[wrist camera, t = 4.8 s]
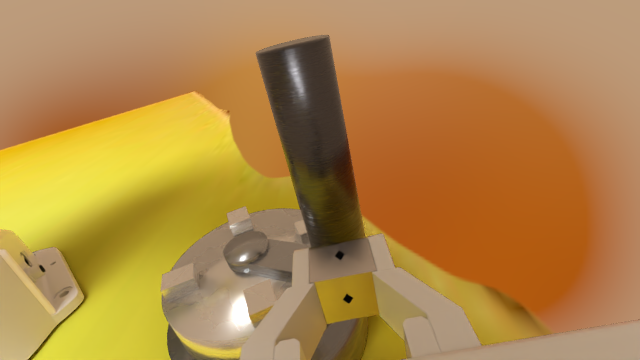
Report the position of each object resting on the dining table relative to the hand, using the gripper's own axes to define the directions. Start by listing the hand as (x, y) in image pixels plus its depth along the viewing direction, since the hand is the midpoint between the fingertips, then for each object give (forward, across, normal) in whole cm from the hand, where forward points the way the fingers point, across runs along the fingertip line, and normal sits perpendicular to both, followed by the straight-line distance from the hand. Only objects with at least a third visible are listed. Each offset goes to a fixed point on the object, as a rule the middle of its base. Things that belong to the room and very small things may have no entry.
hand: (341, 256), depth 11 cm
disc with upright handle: (+8, +5, +10) cm, 14 cm away
